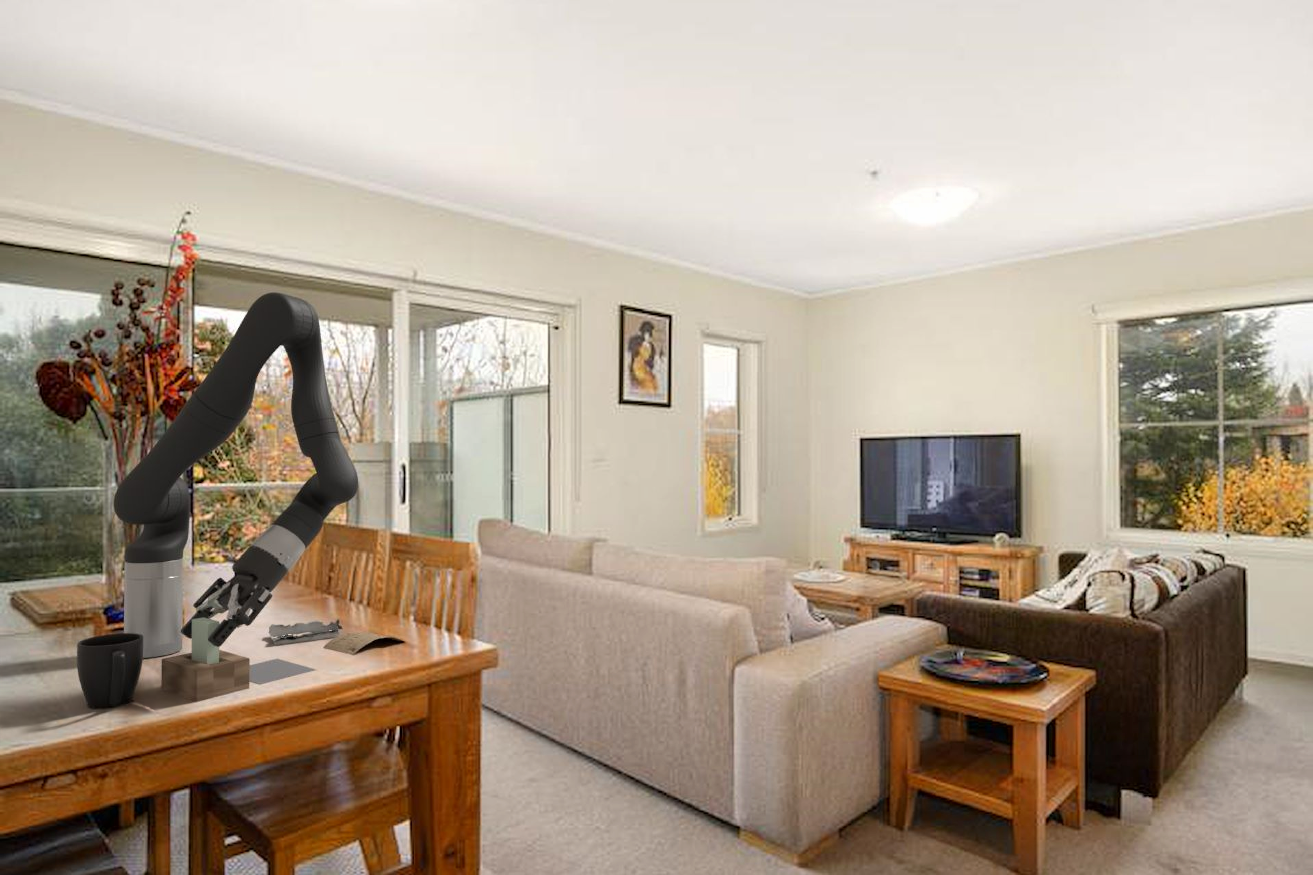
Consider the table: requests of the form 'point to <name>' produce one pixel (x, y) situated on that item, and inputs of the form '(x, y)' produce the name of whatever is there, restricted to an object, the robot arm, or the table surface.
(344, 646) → the brown curved sheet
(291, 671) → the mat
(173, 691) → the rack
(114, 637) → the mug
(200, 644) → the tall mint green block
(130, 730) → the table surface
